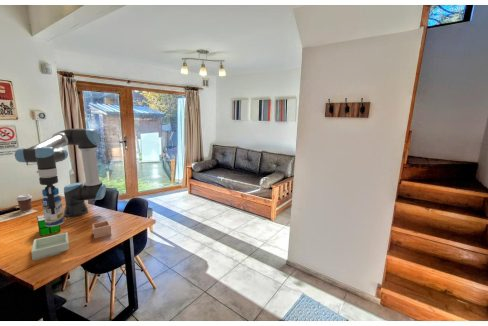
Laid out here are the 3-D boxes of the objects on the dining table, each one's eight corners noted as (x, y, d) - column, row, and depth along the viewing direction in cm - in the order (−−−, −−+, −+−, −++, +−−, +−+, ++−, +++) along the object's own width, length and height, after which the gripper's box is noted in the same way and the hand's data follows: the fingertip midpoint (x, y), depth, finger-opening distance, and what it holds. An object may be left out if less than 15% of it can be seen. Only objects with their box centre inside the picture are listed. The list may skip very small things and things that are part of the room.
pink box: (93, 234, 147) (92, 223, 146) (109, 230, 152) (108, 220, 151) (94, 239, 140) (93, 229, 139) (111, 235, 145) (110, 225, 144)
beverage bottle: (62, 219, 134) (57, 185, 130) (66, 223, 129) (62, 188, 125) (43, 224, 127) (37, 189, 124) (47, 228, 122) (42, 192, 118)
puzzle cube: (58, 226, 157) (56, 212, 155) (60, 231, 150) (58, 216, 148) (38, 230, 150) (36, 216, 148) (40, 236, 143) (37, 221, 141)
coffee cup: (15, 211, 178) (12, 196, 176) (28, 207, 187) (26, 193, 185) (23, 213, 176) (20, 198, 174) (36, 208, 184) (34, 194, 182)
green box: (35, 247, 131) (34, 239, 130) (68, 239, 140) (67, 232, 139) (32, 260, 119) (31, 251, 118) (69, 251, 128) (68, 242, 127)
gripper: (39, 173, 128) (45, 212, 132) (37, 181, 113) (44, 225, 117) (57, 171, 132) (62, 209, 137) (57, 179, 117) (63, 221, 122)
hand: (54, 216), depth 127 cm, fingers closed on beverage bottle, 7 cm apart
